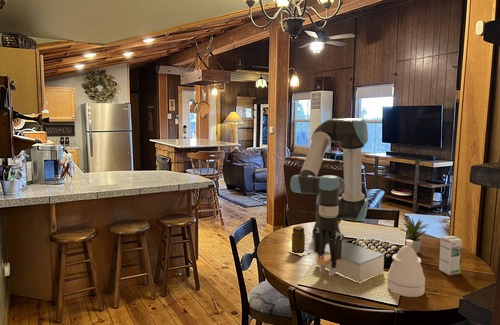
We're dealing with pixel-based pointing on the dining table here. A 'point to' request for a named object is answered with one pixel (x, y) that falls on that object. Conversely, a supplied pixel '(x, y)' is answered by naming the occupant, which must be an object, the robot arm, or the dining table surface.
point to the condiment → (298, 240)
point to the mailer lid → (352, 254)
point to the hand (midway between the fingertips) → (327, 273)
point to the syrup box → (450, 255)
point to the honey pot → (406, 273)
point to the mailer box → (357, 268)
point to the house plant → (414, 234)
